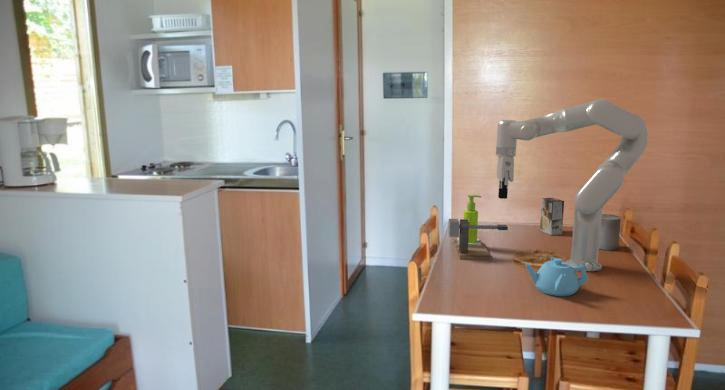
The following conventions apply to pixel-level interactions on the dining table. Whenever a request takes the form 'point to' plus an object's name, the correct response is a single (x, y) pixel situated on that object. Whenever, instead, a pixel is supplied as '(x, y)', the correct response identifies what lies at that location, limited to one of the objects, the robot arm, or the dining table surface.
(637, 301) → the dining table surface
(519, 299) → the dining table surface
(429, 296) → the dining table surface
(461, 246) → the base
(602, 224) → the pillar candle
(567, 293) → the teapot
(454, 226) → the lever
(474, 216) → the soap dispenser
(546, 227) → the coffee box
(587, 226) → the robot arm
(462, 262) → the dining table surface
